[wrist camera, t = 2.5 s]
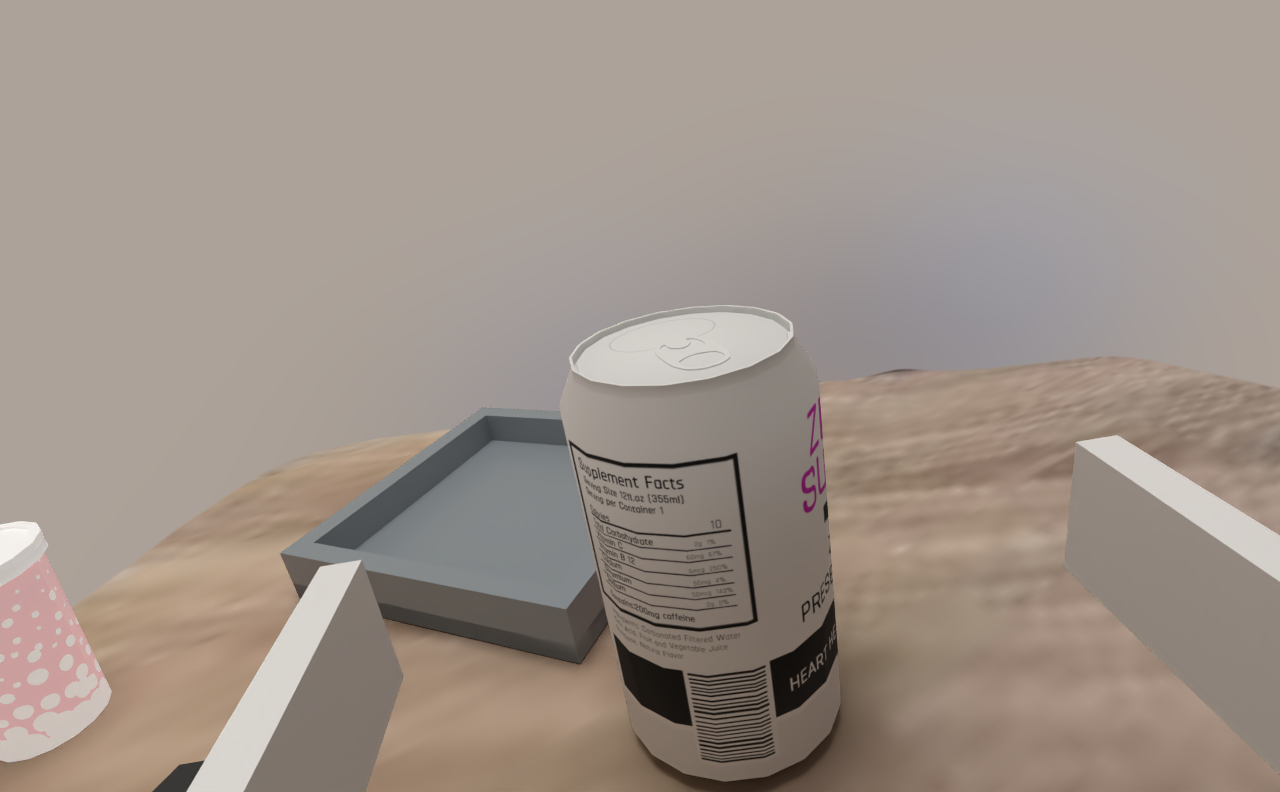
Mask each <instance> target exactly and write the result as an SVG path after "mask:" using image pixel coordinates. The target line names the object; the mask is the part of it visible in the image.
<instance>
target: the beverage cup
mask: <svg viewBox="0 0 1280 792" xmlns="http://www.w3.org/2000/svg"><path fill="white" fill-rule="evenodd" d="M43 536H44V535H43V533H42V531H41V530H40V528H39V526H38V525H37V523H34V522H21V521H18V522H13V523H7V524H1V525H0V760H1V761H5V762H8V763H9V762H15V761H21V760H27V759H30V758H33V757H35V756H38V755H40V754H43V753H45V752H48V751H50V750H53V749H54V748H56V747H58V746H59V745H61V744H63V743H64V742H66V741H68V740H69V739H71V738H73V737H74V736H76V735H77V734H78V733H80V732H81V731H82V730H83V729H85V728H86V727H87V726H88V725H89V724H91V723H92V722H93V721H94V720H95V719H96V718H97V717H98V716H99V715H100V713H101V712H102V711H103V710H104V708H105V707H106V706H107V705H108V703H109V699H110V696H111V693H112V691H111V689H110V687H109V685H108V683H107V681H106V679H105V677H104V675H103V672H102V670H101V668H100V666H99V664H98V662H97V660H96V658H95V656H94V654H93V652H92V650H91V648H90V646H89V644H88V642H87V639H86V637H85V635H84V633H83V631H82V629H81V627H80V625H79V623H78V621H77V619H76V617H75V615H74V613H73V611H72V608H71V606H70V604H69V602H68V600H67V598H66V596H65V594H64V592H63V590H62V588H61V586H60V584H59V582H58V580H57V578H56V575H55V573H54V571H53V569H52V567H51V565H50V563H49V561H48V559H47V557H46V555H45V553H44V552H45V550H46V549H47V547H48V544H47V542H46V540H45V539H44V537H43Z"/></svg>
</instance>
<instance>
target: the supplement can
mask: <svg viewBox="0 0 1280 792" xmlns="http://www.w3.org/2000/svg"><path fill="white" fill-rule="evenodd" d="M569 361H570V366H571V368H570V371H569V375H568V378H567V381H566V384H565V388H564V391H563V394H562V398H561V401H560V404H559V407H560V412H561V417H562V422H563V427H564V431H565V435H566V440H567V444H568V449H569V453H570V457H571V462H572V466H573V471H574V475H575V479H576V484H577V488H578V493H579V497H580V501H581V506H582V510H583V515H584V519H585V523H586V528H587V532H588V536H589V541H590V545H591V550H592V554H593V558H594V563H595V567H596V572H597V576H598V580H599V585H600V589H601V594H602V598H603V602H604V607H605V611H606V616H607V620H608V624H609V629H610V633H611V638H612V642H613V646H614V651H615V655H616V659H617V664H618V668H619V673H620V677H621V681H622V686H623V690H624V695H625V699H626V703H627V708H628V712H629V717H630V721H631V725H632V729H633V730H634V732H635V733H636V734H637V736H638V737H639V738H640V739H641V741H642V742H643V743H644V745H645V746H646V747H647V749H648V750H649V751H650V753H651V754H652V755H653V756H655V757H657V758H658V759H660V760H662V761H664V762H665V763H667V764H669V765H670V766H672V767H674V768H675V769H677V770H679V771H680V772H682V773H684V774H688V775H693V776H698V777H703V778H709V779H714V780H719V781H724V782H727V781H735V780H743V779H752V778H760V777H768V776H770V775H772V774H774V773H776V772H778V771H780V770H783V769H785V768H787V767H789V766H791V765H793V764H795V763H797V762H799V761H802V760H804V759H805V758H806V757H807V756H808V755H809V754H810V753H811V752H812V751H813V750H814V749H815V748H816V747H817V746H818V745H819V744H820V743H821V742H822V741H823V740H824V739H825V737H826V736H827V735H828V734H829V733H830V732H831V729H832V726H833V724H834V721H835V718H836V715H837V713H838V710H839V707H840V704H841V691H840V677H839V663H838V648H837V634H836V620H835V606H834V592H833V578H832V563H831V549H830V535H829V521H828V507H827V492H826V478H825V464H824V450H823V436H822V421H821V407H820V393H819V381H818V376H817V368H816V365H815V363H814V362H813V361H812V359H811V358H810V356H809V355H808V353H807V352H806V350H805V349H804V347H803V346H802V345H801V343H800V342H799V340H798V339H797V337H796V336H795V335H794V333H793V325H792V322H790V321H789V320H787V319H786V318H785V317H783V316H782V315H780V314H779V313H776V312H772V311H768V310H764V309H760V308H756V307H747V306H731V305H730V306H729V305H719V306H718V305H717V306H699V307H689V308H681V309H675V310H669V311H663V312H657V313H653V314H649V315H646V316H642V317H638V318H635V319H630V320H627V321H624V322H621V323H619V324H616V325H614V326H611V327H609V328H607V329H604V330H602V331H599V332H597V333H595V334H594V335H592V336H591V337H589V338H588V339H586V340H585V341H583V342H582V343H580V344H578V346H577V347H576V348H575V350H574V351H573V353H572V354H571V356H570V357H569Z"/></svg>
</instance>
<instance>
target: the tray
mask: <svg viewBox="0 0 1280 792" xmlns="http://www.w3.org/2000/svg"><path fill="white" fill-rule="evenodd" d="M280 554H281V556H282V559H283V561H284V563H285V566H286V568H287V570H288V572H289V575H290V577H291V579H292V582H293V584H294V586H295V589H296V591H297V593H298V595H299V598H302V596H303V594H304V593H305V591H306V589H307V588H308V586H309V584H310V583H311V581H312V579H313V578H314V576H315V574H316V572H317V571H318V569H319V567H321V566H327V565H333V564H339V563H345V562H351V561H357V560H362V562H363V565H364V567H365V570H366V573H367V576H368V579H369V581H370V584H371V587H372V590H373V593H374V595H375V598H376V601H377V604H378V606H379V609H380V612H381V615H382V618H387V619H391V620H395V621H399V622H404V623H408V624H412V625H417V626H421V627H425V628H429V629H434V630H438V631H442V632H446V633H451V634H455V635H459V636H463V637H468V638H472V639H476V640H480V641H485V642H489V643H493V644H497V645H502V646H506V647H510V648H514V649H519V650H523V651H527V652H531V653H536V654H540V655H544V656H548V657H553V658H557V659H561V660H565V661H570V662H574V663H578V664H580V663H581V662H582V660H583V659H584V657H585V656H586V654H587V653H588V652H589V650H590V649H591V647H592V646H593V644H594V643H595V641H596V640H597V638H598V637H599V635H600V634H601V632H602V631H603V629H604V628H605V626H606V625H607V623H608V620H607V616H606V611H605V607H604V602H603V598H602V594H601V589H600V585H599V580H598V576H597V572H596V567H595V563H594V558H593V554H592V550H591V545H590V541H589V536H588V532H587V528H586V523H585V519H584V515H583V510H582V506H581V501H580V497H579V493H578V488H577V484H576V479H575V475H574V471H573V466H572V462H571V457H570V453H569V449H568V444H567V440H566V435H565V431H564V427H563V422H562V417H561V412H560V411H541V410H540V411H539V410H521V409H501V408H481V409H480V410H478V411H477V412H476V413H474V414H473V415H471V416H470V417H469V418H467V419H466V420H464V421H463V422H462V423H460V424H459V425H458V426H456V427H455V428H453V429H452V430H451V431H449V432H448V433H446V434H445V435H444V436H442V437H441V438H439V439H438V440H437V441H435V442H434V443H432V444H431V445H430V446H428V447H427V448H425V449H424V450H423V451H421V452H420V453H419V454H417V455H416V456H414V457H413V458H412V459H410V460H409V461H407V462H406V463H405V464H403V465H402V466H400V467H399V468H398V469H396V470H395V471H394V472H392V473H391V474H389V475H388V476H387V477H385V478H384V479H382V480H381V481H380V482H378V483H377V484H375V485H374V486H373V487H371V488H370V489H368V490H367V491H366V492H364V493H363V494H362V495H360V496H359V497H357V498H356V499H355V500H353V501H352V502H350V503H349V504H348V505H346V506H345V507H343V508H342V509H341V510H339V511H338V512H336V513H335V514H334V515H332V516H331V517H330V518H328V519H327V520H325V521H324V522H323V523H321V524H320V525H318V526H317V527H316V528H314V529H313V530H311V531H310V532H309V533H307V534H306V535H304V536H303V537H302V538H300V539H299V540H298V541H296V542H295V543H293V544H292V545H291V546H289V547H288V548H286V549H285V550H284V551H282V552H281V553H280Z"/></svg>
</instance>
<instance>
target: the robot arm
mask: <svg viewBox="0 0 1280 792" xmlns="http://www.w3.org/2000/svg"><path fill="white" fill-rule="evenodd" d="M1064 567H1065V568H1066V569H1067V570H1068V571H1069V572H1070V573H1071V574H1072V575H1073V576H1074V577H1075V578H1076V579H1077V580H1078V581H1079V582H1080V583H1081V584H1082V585H1083V586H1084V587H1085V588H1086V589H1087V590H1088V591H1089V592H1091V593H1092V594H1093V595H1094V596H1095V597H1096V598H1097V599H1098V600H1099V601H1100V602H1101V603H1102V604H1103V605H1104V606H1105V607H1106V608H1107V609H1108V610H1109V611H1110V612H1111V613H1112V614H1113V615H1114V616H1115V617H1116V618H1117V619H1118V620H1120V621H1121V622H1122V623H1123V624H1124V625H1125V626H1126V627H1127V628H1128V629H1129V630H1130V631H1131V632H1132V633H1133V634H1134V635H1135V636H1136V637H1137V638H1138V639H1139V640H1140V641H1141V642H1142V643H1143V644H1144V645H1145V646H1146V647H1148V648H1149V649H1150V650H1151V651H1152V652H1153V653H1154V654H1155V655H1156V656H1157V657H1158V658H1159V659H1160V660H1161V661H1162V662H1163V663H1164V664H1165V665H1166V666H1167V667H1168V668H1169V669H1170V670H1171V671H1172V672H1173V673H1174V674H1175V675H1177V676H1178V677H1179V678H1180V679H1181V680H1182V681H1183V682H1184V683H1185V684H1186V685H1187V686H1188V687H1189V688H1190V689H1191V690H1192V691H1193V692H1194V693H1195V694H1196V695H1197V696H1198V697H1199V698H1200V699H1201V700H1202V701H1203V702H1205V703H1206V704H1207V705H1208V706H1209V707H1210V708H1211V709H1212V710H1213V711H1214V712H1215V713H1216V714H1217V715H1218V716H1219V717H1220V718H1221V719H1222V720H1223V721H1224V722H1225V723H1226V724H1227V725H1228V726H1229V727H1230V728H1231V729H1232V730H1234V731H1235V732H1236V733H1237V734H1238V735H1239V736H1240V737H1241V738H1242V739H1243V740H1244V741H1245V742H1246V743H1247V744H1248V745H1249V746H1250V747H1251V748H1252V749H1253V750H1254V751H1255V752H1256V753H1257V754H1258V755H1259V756H1260V757H1262V758H1263V759H1264V760H1265V761H1266V762H1267V763H1268V764H1269V765H1270V766H1271V767H1272V768H1273V769H1274V770H1275V771H1276V772H1277V773H1278V774H1279V775H1280V535H1278V534H1276V533H1275V532H1273V531H1271V530H1270V529H1268V528H1267V527H1265V526H1263V525H1262V524H1260V523H1259V522H1257V521H1255V520H1254V519H1252V518H1250V517H1249V516H1247V515H1246V514H1244V513H1242V512H1241V511H1239V510H1237V509H1236V508H1234V507H1233V506H1231V505H1229V504H1228V503H1226V502H1225V501H1223V500H1221V499H1220V498H1218V497H1216V496H1215V495H1213V494H1212V493H1210V492H1208V491H1207V490H1205V489H1203V488H1202V487H1200V486H1199V485H1197V484H1195V483H1194V482H1192V481H1190V480H1189V479H1187V478H1186V477H1184V476H1182V475H1181V474H1179V473H1178V472H1176V471H1174V470H1173V469H1171V468H1169V467H1168V466H1166V465H1165V464H1163V463H1161V462H1160V461H1158V460H1156V459H1155V458H1153V457H1152V456H1150V455H1148V454H1147V453H1145V452H1144V451H1142V450H1140V449H1139V448H1137V447H1135V446H1134V445H1132V444H1131V443H1129V442H1127V441H1126V440H1124V439H1122V438H1121V437H1119V436H1118V435H1116V436H1110V437H1104V438H1098V439H1092V440H1085V441H1079V442H1076V444H1075V455H1074V466H1073V477H1072V488H1071V498H1070V509H1069V520H1068V531H1067V542H1066V552H1065V563H1064ZM402 679H403V673H402V671H401V668H400V665H399V662H398V659H397V657H396V654H395V651H394V648H393V646H392V643H391V640H390V637H389V634H388V632H387V629H386V626H385V623H384V620H383V618H382V615H381V612H380V609H379V606H378V604H377V601H376V598H375V595H374V593H373V590H372V587H371V584H370V581H369V579H368V576H367V573H366V570H365V567H364V565H363V562H362V560H357V561H351V562H345V563H339V564H333V565H327V566H321V567H319V569H318V571H317V572H316V574H315V576H314V578H313V579H312V581H311V583H310V584H309V586H308V588H307V589H306V591H305V593H304V594H303V596H302V598H301V599H300V601H299V603H298V604H297V606H296V608H295V610H294V611H293V613H292V615H291V616H290V618H289V620H288V621H287V623H286V625H285V626H284V628H283V630H282V631H281V633H280V635H279V637H278V638H277V640H276V642H275V643H274V645H273V647H272V648H271V650H270V652H269V653H268V655H267V657H266V658H265V660H264V662H263V663H262V665H261V667H260V669H259V670H258V672H257V674H256V675H255V677H254V679H253V680H252V682H251V684H250V685H249V687H248V689H247V690H246V692H245V694H244V696H243V697H242V699H241V701H240V702H239V704H238V706H237V707H236V709H235V711H234V712H233V714H232V716H231V717H230V719H229V721H228V722H227V724H226V726H225V728H224V729H223V731H222V733H221V734H220V736H219V738H218V739H217V741H216V743H215V744H214V746H213V748H212V749H211V751H210V753H209V755H208V756H207V758H206V760H205V761H200V762H194V763H188V764H182V765H179V766H178V767H177V768H176V769H175V770H174V771H173V772H172V773H171V774H170V775H169V776H168V777H167V778H166V779H165V780H164V781H163V782H162V783H161V784H160V785H159V786H158V787H157V788H156V789H155V790H154V791H153V792H365V791H366V788H367V785H368V782H369V779H370V776H371V773H372V770H373V767H374V764H375V761H376V758H377V755H378V752H379V749H380V746H381V743H382V740H383V737H384V734H385V731H386V728H387V725H388V722H389V719H390V716H391V713H392V710H393V707H394V704H395V701H396V698H397V695H398V692H399V688H400V685H401V682H402Z"/></svg>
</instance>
